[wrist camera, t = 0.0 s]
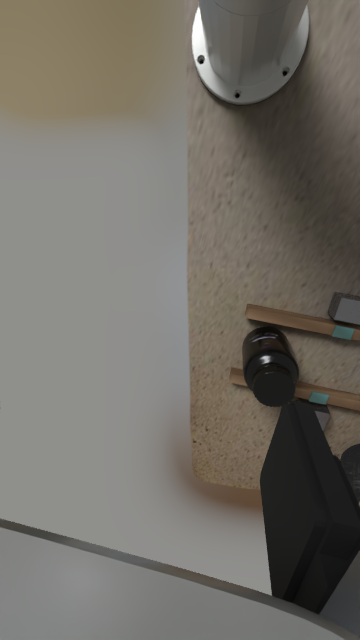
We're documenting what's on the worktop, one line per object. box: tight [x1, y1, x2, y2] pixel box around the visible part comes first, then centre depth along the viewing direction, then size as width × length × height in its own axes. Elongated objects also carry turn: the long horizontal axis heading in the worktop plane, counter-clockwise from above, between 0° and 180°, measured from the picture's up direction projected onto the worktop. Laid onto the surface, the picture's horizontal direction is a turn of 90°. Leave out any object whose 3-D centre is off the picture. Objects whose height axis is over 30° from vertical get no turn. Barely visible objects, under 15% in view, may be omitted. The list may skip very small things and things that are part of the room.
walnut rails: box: [230, 304, 360, 411], centre depth 46 cm, size 12×28×2 cm, turn 80°
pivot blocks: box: [297, 292, 360, 431], centre depth 46 cm, size 20×4×3 cm, turn 170°
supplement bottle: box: [242, 327, 299, 407], centre depth 42 cm, size 7×7×12 cm
